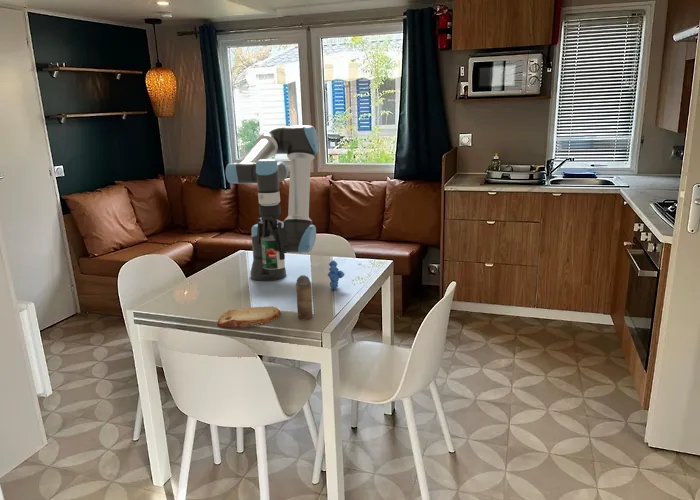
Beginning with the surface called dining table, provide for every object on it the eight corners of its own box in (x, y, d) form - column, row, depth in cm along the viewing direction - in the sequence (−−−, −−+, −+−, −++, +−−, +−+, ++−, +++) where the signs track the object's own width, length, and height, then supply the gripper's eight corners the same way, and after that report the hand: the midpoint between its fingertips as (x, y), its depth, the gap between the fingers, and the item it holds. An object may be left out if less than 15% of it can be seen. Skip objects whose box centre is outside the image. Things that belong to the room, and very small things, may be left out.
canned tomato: (273, 262, 208) (271, 233, 205) (289, 265, 203) (287, 236, 201) (258, 267, 202) (256, 238, 199) (274, 271, 197) (272, 240, 194)
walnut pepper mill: (294, 317, 190) (292, 275, 186) (306, 313, 193) (303, 272, 190) (304, 320, 186) (302, 278, 183) (315, 316, 190) (313, 275, 186)
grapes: (345, 293, 213) (344, 263, 210) (327, 294, 213) (326, 263, 210) (345, 284, 224) (344, 255, 221) (328, 285, 224) (326, 256, 221)
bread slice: (285, 313, 195) (284, 303, 194) (262, 332, 179) (261, 321, 178) (239, 309, 201) (238, 299, 200) (212, 327, 184) (211, 317, 183)
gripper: (243, 202, 201) (248, 263, 207) (279, 208, 187) (283, 273, 193) (260, 199, 206) (265, 258, 212) (296, 205, 192) (300, 268, 198)
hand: (273, 265), depth 203 cm, fingers closed on canned tomato, 8 cm apart
